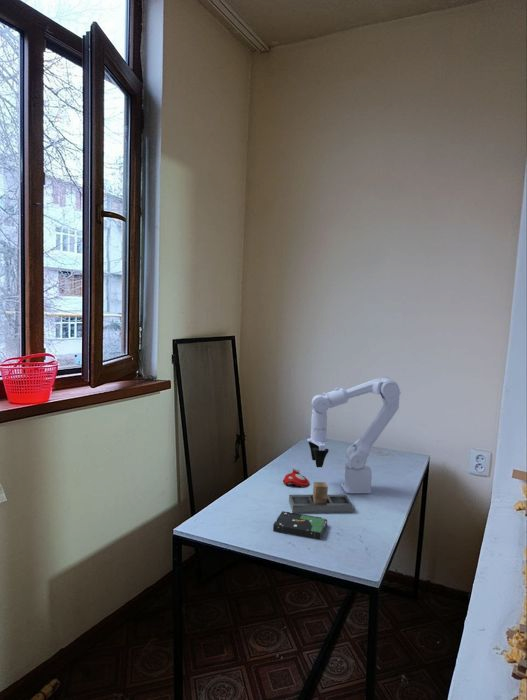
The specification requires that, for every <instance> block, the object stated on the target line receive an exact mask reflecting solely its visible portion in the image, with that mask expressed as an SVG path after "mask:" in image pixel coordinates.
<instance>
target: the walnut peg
mask: <svg viewBox="0 0 527 700" xmlns="http://www.w3.org/2000/svg"><path fill="white" fill-rule="evenodd" d="M312 489H313V491H312V495H313V503H327V495H328V490H329V487H328V484H327V483H326V482H325V481H313V488H312Z"/></svg>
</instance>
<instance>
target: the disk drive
mask: <svg viewBox="0 0 527 700" xmlns="http://www.w3.org/2000/svg"><path fill="white" fill-rule="evenodd" d="M272 525H273V526H272V532H275V533H281V534H286V535H291V536H297V537H302V538H307V539H308V538H309V539H313V540H319V541H321V540H323V539H322V538H323V536H324V534H325V531H326V529H327V526H328V518H323V517H320V516H314V515H308V514H304V513H293V512H292V511H284V510H282V511H281V512H280V514H279V515H278V517H277V518H276V521H274V523H273V524H272Z"/></svg>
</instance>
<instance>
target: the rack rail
mask: <svg viewBox="0 0 527 700" xmlns="http://www.w3.org/2000/svg"><path fill="white" fill-rule="evenodd" d="M288 504H289V506H290V510H291V513H297V514H337V513H338V514H339V513H341V514H343V513H344V514H347V513H350V514H351V513H353V511H354V510H353V507H354V506H353V503H352V501H350V499H349V498H348V495H347V494H327V503H313V494H288Z"/></svg>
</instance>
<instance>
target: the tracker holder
mask: <svg viewBox="0 0 527 700" xmlns="http://www.w3.org/2000/svg"><path fill="white" fill-rule="evenodd" d="M282 483H284V485H285V486H287V485H289V484H293V485H295V486H298V487H302V488H306V487H308V486H310V481H309V479H308V478H306V476H304V475H303V474H301V473H300V470H299V469H297V468H294V467H292V472H290V473H287V474H286V475H284V478H283V480H282Z"/></svg>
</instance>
